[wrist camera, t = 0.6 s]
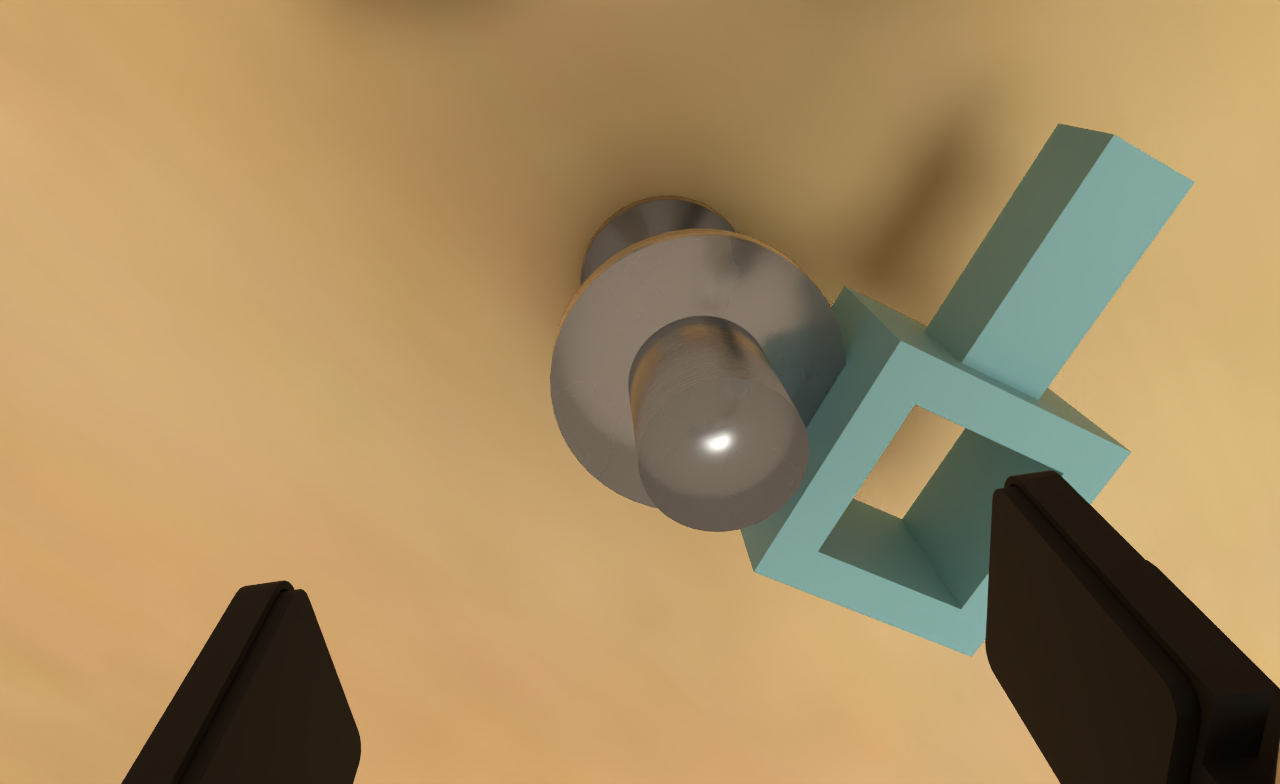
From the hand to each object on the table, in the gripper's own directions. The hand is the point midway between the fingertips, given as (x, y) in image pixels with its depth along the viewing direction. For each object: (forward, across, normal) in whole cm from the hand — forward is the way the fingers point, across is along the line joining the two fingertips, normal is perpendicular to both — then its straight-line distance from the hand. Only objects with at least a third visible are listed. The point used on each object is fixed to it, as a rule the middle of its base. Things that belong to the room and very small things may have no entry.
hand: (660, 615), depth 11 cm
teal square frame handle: (+20, -12, +6) cm, 24 cm away
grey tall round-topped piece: (+29, -2, +5) cm, 30 cm away
